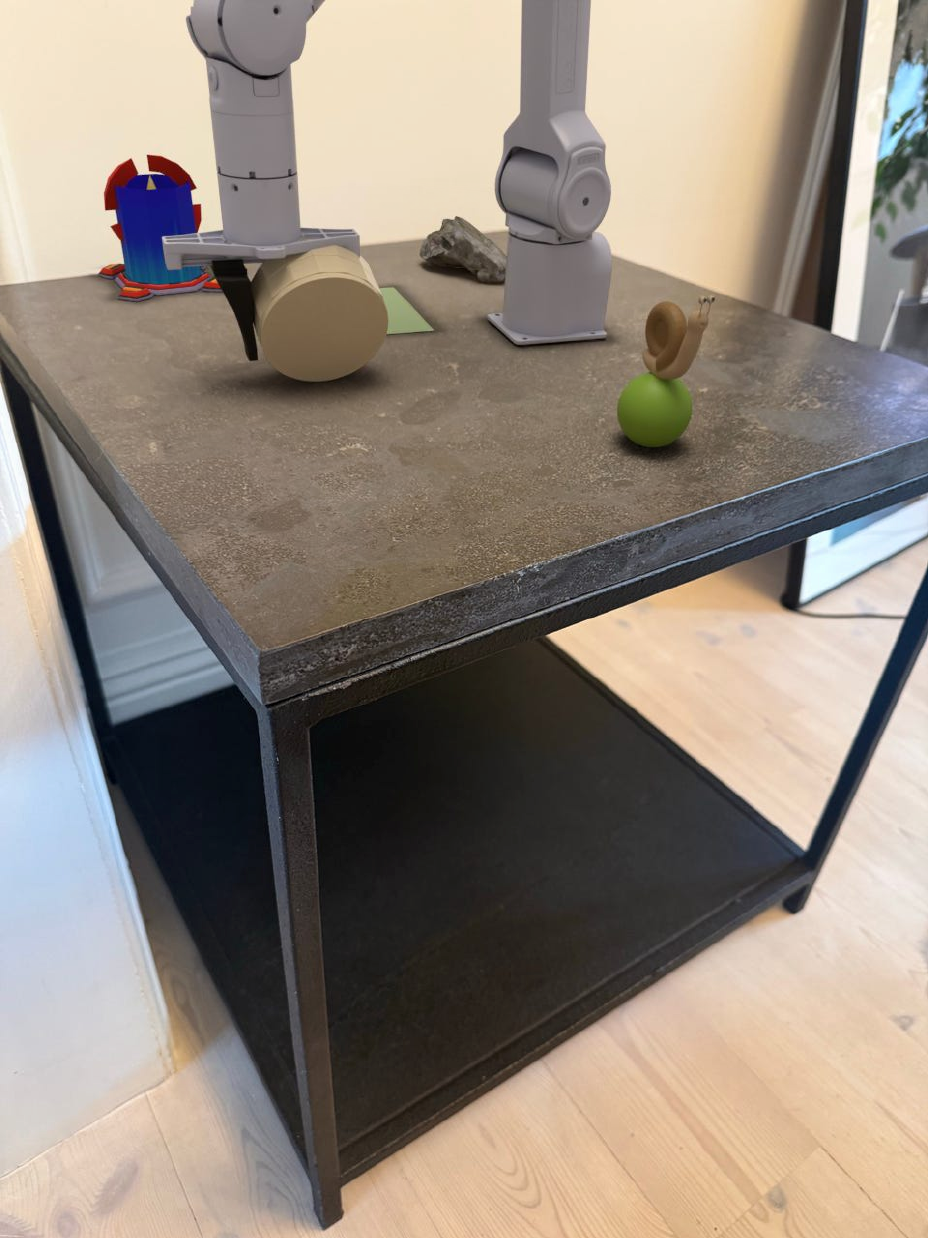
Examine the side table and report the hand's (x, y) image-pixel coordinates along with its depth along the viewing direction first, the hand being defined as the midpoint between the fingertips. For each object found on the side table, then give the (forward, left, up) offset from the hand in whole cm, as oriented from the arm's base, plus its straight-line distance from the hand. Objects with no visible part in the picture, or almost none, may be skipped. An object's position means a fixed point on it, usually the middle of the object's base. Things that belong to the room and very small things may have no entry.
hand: (272, 354), depth 74 cm
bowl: (-4, +3, +3) cm, 6 cm away
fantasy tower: (+6, -30, -2) cm, 31 cm away
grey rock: (-27, -28, -2) cm, 39 cm away
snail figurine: (-25, +19, -2) cm, 31 cm away
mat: (-10, -16, -2) cm, 19 cm away
